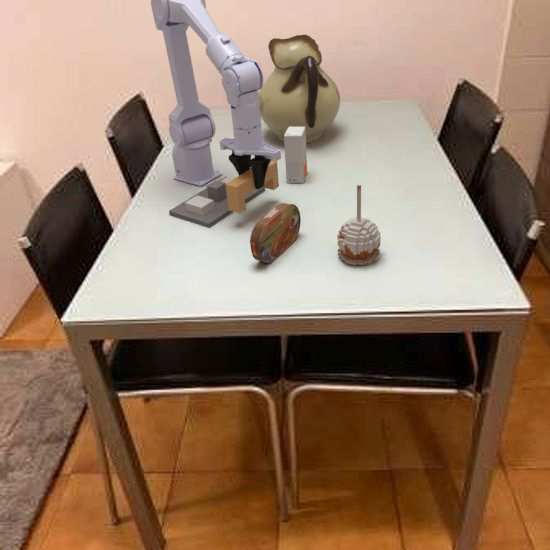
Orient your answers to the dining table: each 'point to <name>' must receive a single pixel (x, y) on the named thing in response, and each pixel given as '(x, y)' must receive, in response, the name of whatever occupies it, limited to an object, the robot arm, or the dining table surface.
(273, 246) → the tin
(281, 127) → the beige sack vase
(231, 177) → the stand
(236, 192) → the frame
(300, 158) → the skincare box
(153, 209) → the dining table surface
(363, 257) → the caramel apple
